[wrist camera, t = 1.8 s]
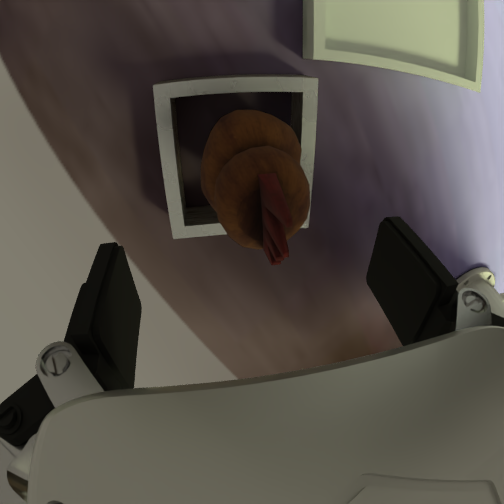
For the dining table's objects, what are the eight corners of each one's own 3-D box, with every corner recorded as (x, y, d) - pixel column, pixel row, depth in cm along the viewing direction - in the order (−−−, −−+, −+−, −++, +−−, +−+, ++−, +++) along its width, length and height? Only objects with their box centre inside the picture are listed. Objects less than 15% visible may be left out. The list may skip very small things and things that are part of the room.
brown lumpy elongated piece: (218, 92, 20) (236, 154, 8) (292, 114, 22) (400, 207, 10) (193, 175, 24) (184, 325, 12) (262, 192, 25) (317, 340, 13)
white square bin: (304, 75, 20) (318, 78, 18) (298, 209, 27) (308, 227, 24) (159, 81, 19) (153, 85, 16) (176, 219, 26) (173, 239, 23)
